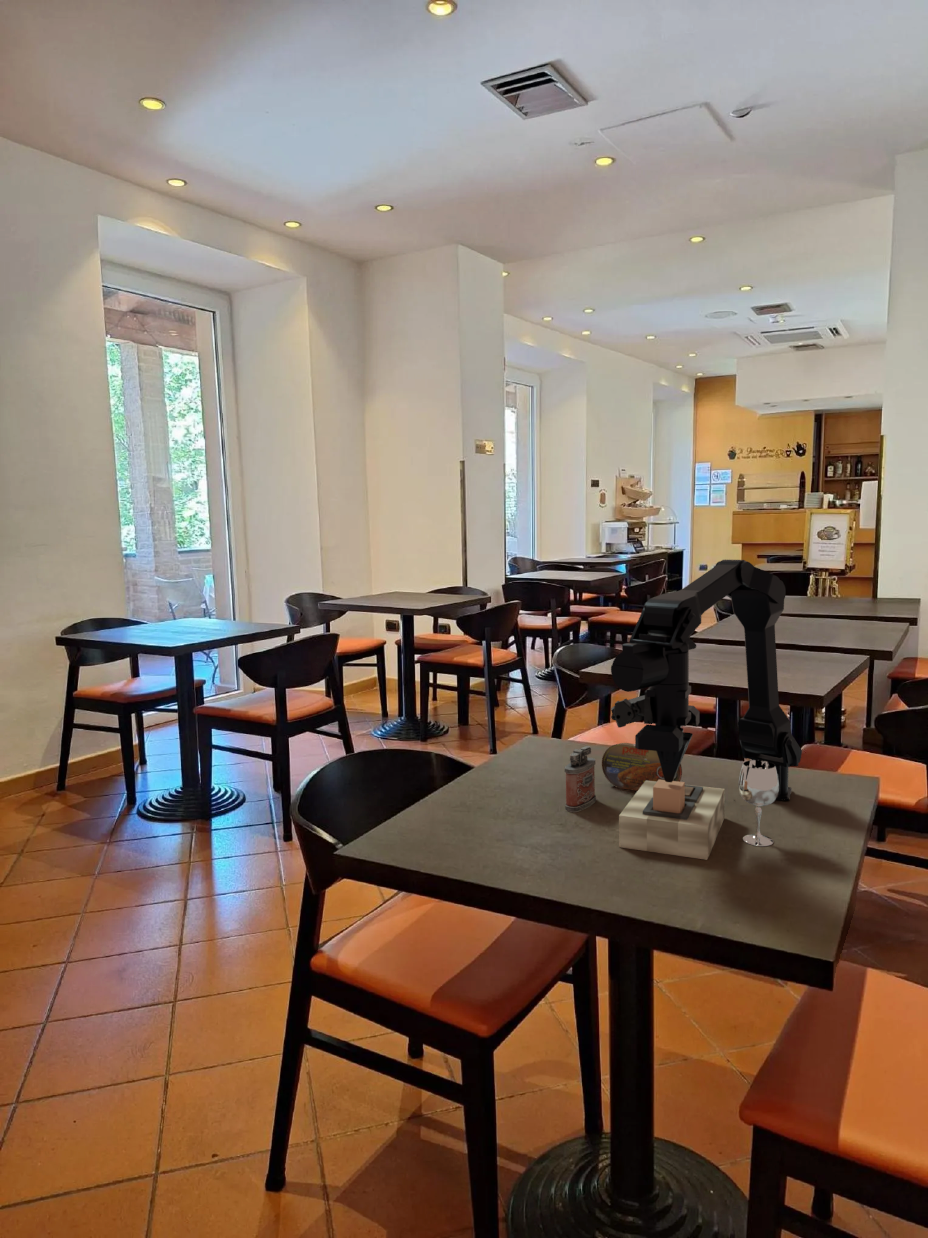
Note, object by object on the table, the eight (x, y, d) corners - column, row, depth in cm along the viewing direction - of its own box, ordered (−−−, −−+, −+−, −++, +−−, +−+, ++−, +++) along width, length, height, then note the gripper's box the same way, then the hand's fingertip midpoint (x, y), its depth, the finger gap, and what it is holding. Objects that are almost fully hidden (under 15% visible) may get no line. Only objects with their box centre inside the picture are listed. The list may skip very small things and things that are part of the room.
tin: (601, 785, 153) (600, 741, 152) (608, 780, 156) (608, 737, 155) (677, 799, 144) (677, 752, 143) (684, 794, 147) (684, 748, 146)
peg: (658, 811, 128) (658, 779, 127) (684, 814, 126) (684, 782, 125) (653, 820, 124) (653, 787, 123) (679, 823, 122) (679, 790, 122)
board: (645, 808, 140) (645, 777, 139) (724, 818, 134) (724, 786, 134) (619, 847, 124) (619, 812, 123) (707, 859, 118) (707, 823, 118)
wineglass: (753, 850, 121) (754, 772, 120) (730, 836, 127) (731, 761, 125) (786, 845, 123) (787, 767, 121) (762, 831, 128) (763, 757, 127)
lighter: (577, 813, 139) (577, 756, 137) (560, 809, 141) (559, 753, 139) (600, 800, 145) (599, 745, 144) (583, 796, 147) (582, 742, 146)
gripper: (630, 668, 134) (631, 759, 136) (599, 690, 118) (601, 794, 119) (700, 671, 130) (699, 766, 131) (678, 695, 113) (678, 803, 115)
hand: (669, 781), depth 124 cm, fingers closed
